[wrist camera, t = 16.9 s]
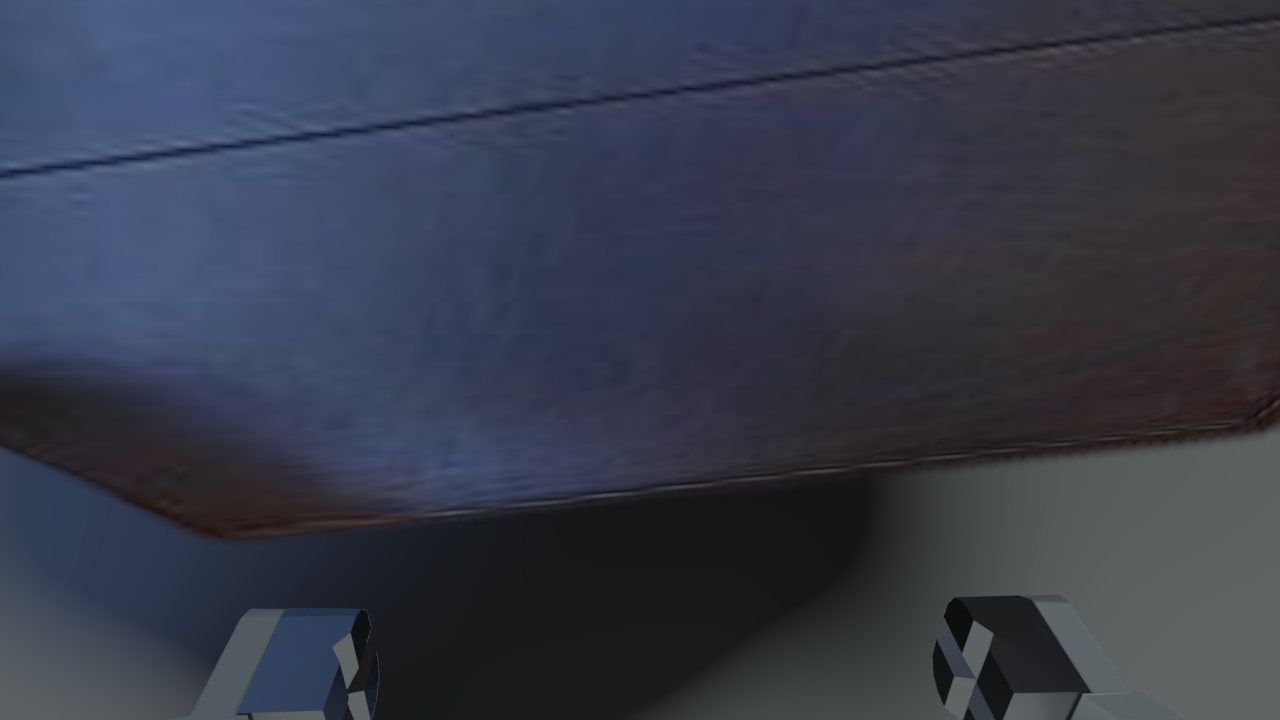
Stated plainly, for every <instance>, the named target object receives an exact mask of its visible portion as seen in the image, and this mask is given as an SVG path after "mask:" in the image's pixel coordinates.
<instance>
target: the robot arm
mask: <svg viewBox="0 0 1280 720" xmlns="http://www.w3.org/2000/svg"><path fill="white" fill-rule="evenodd" d="M944 618H945V620H946V622H947V624H948V626H949V629H948V630H947V631H946V632H944V633H943V634H942V635H940V636H939V637H938V638H937V639H936V643H935V647H934V651H933V655H932V657H933V658H932V659H933V675H934V680H935V683H936V688H937V691H938V693H939V696H940V698H941V700H942V703H943V705H944V707H945V708H946V709H947V710H948V711H950V712H951V713H952V714H953V715H955V716H956V717H957V718H958V719H959V720H1184V719H1182V718H1181V717H1179V716H1178V715H1176V714H1175V713H1173V712H1172V711H1170V710H1169V709H1167V708H1166V707H1164V706H1163V705H1161V704H1160V703H1158V702H1157V701H1155V700H1154V699H1152V698H1151V697H1149V696H1148V695H1146V694H1145V693H1142V692H1132V691H1131V690H1130V688H1129V687H1128V686H1127V684H1126V683H1125V681H1124V680H1123V679H1122V677H1121V676H1120V674H1119V673H1118V671H1117V670H1116V668H1115V667H1114V666H1113V664H1112V663H1111V662H1110V660H1109V659H1108V657H1107V656H1106V654H1105V653H1104V651H1103V650H1102V649H1101V647H1100V646H1099V644H1098V643H1097V642H1096V640H1095V639H1094V637H1093V636H1092V634H1091V633H1090V632H1089V630H1088V629H1087V627H1086V626H1085V625H1084V623H1083V622H1082V620H1081V619H1080V618H1079V616H1078V615H1077V613H1076V612H1075V611H1074V609H1073V607H1072V606H1071V605H1070V603H1069V602H1068V601H1067V600H1066V599H1064V598H1063V597H1061V596H1060V595H1034V596H991V597H990V596H989V597H988V596H986V597H958V598H957V597H954V598H953V599H952V600H951V601H950V602H949V603H948V605H947V608H946V611H945V614H944ZM370 630H371V624H370V621H369V617H368V613H367V610H363V609H250V610H249V611H248V612H247V613H246V614H245V615H244V616H243V617H242V618H241V619H240V621H239V623H238V624H237V626H236V628H235V630H234V632H233V634H232V636H231V638H230V640H229V642H228V644H227V646H226V648H225V650H224V652H223V653H222V655H221V657H220V659H219V661H218V663H217V665H216V667H215V669H214V671H213V673H212V675H211V677H210V679H209V681H208V683H207V684H206V686H205V688H204V690H203V693H202V694H201V696H200V698H199V700H198V702H197V704H196V706H195V708H194V710H193V711H192V714H191V716H186V717H177V718H176V719H175V720H371V719H372V716H373V712H374V708H375V705H376V699H377V691H378V683H379V665H378V659H377V653H376V650H375V649H374V648H372V647H371V646H370V645H369V644H368V643H367V640H368V636H369V633H370Z"/></svg>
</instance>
